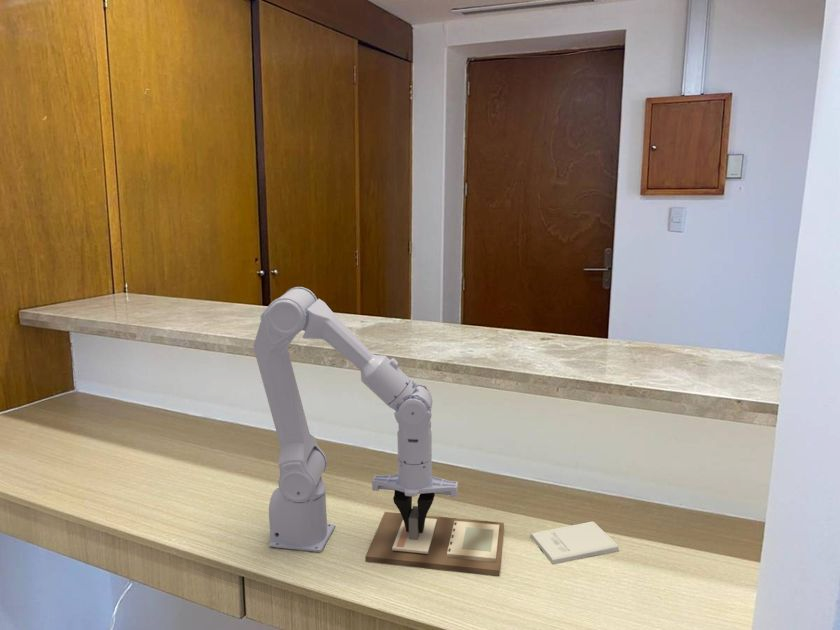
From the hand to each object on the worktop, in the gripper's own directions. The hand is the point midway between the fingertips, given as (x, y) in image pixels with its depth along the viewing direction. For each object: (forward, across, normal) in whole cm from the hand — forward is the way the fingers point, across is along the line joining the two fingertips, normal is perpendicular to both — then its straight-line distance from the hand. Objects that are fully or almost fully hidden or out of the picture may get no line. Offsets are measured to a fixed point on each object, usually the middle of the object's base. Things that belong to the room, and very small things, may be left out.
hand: (415, 529), depth 110 cm
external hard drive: (+3, +27, +4) cm, 27 cm away
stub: (+1, 0, 0) cm, 1 cm away
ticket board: (+2, +4, 0) cm, 5 cm away
